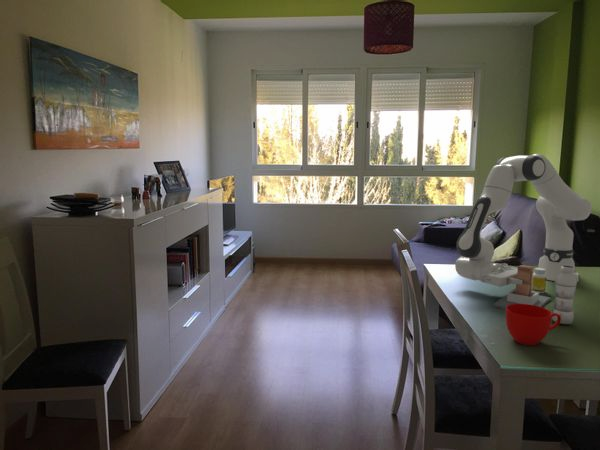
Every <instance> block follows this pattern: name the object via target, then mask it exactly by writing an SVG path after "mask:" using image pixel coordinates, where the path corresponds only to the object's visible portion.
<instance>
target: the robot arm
mask: <svg viewBox="0 0 600 450" xmlns="http://www.w3.org/2000/svg"><path fill="white" fill-rule="evenodd" d="M525 181H530V184H531V185H532V187H533V188H534V189H535V191H536V193H537V194H538V195H539V196H538V198H537V199H536V202H535V209H536V211H537V212H538V214H540V216H541V217H542V219H543V222H544V228H545V243H544V244H545V246H544V247H543V256H541V257H540V258H539V261H538V267H537V268H543V269H545V273H544V274H545V275H546V281H552V282H555V279H556V277H557V276H558V275H559V274H560V273H561V271H560V270H561V266H562V265H567V266H572V267H574V268H575V267H576V266H575V264H576V263H575V261H574V258H573V257H574V250H573V243H574V236H575V235H574V232H573V230H572V229H571V228H570V226H568V224H567V220H568V221H585V220H586V219H588V218H589V216H590V214H591V213H592V210H593V209H592V203H591V202H590V201H589V199H587V198H585V197H583V196H581V195H580V194H578V193H577V192H575V190H574V189H572V188H571V187H570V186H568V184H566V182H565V181H564V179H562V178H561V176H560V174H559V173H558V170H556V168H555V167H554V165H553V164H552V163H551V161H550V160H549V159H548V158H547V157H546V156H545V155H544V154H541V153H534V154H530V155H527V154H526V155H525V154H523V155H522V154H521V155H520V154H519V155H512V156H503V157H501V158H499V159H498V160H497V161H496V162H495V165H493V167H492V168H491V169H490V172H489V173H488V176H487V177H486V180H485V183H484V186H483V189H482V192H481V194H480V197H479V198H478V199H477V201H476V202H475V204H474V206H473V208H472V210H471V213H470V215H469V217H468V220H467V222H466V225H465V227H464V229H463V231H462V233H461V234H460V235H459V236H458V238H457V241H456V250H457V253H458V254H459V255H460V257H458V258H457V259H456V261H455V272H456V273H457V275H459V276H460V277H462V278H464V279H467V280H472V281H479V282H482V283H484V284H488V285H492V286H497V287H505V286H508V285H516V284H519V285H522V284H524V280H522V279H517V271H518V266H517V267H516V266H512V265H508V263H502V262H501V263H497V262H492V259H493V258H494V253H495V247H494V244H493V243H492V241H490V240H487V239H486V238H484V237H481V233H482V230H483V228H484V225H485V223H486V221H487V218H488V216H489V215H490V214H492V213H493V212H499V211H502V210H503V209H505V208H506V207H507V206H508V204H509V201H510V199H511V196H512V191H513V187H514V184H515V182H525ZM573 271H574V272H573V273H572V274H573V276H574V277H575V279H576V282H577V283H579V278H580V277H579V272H577V270H576V269H574V270H573ZM533 273H535V271H533Z"/></svg>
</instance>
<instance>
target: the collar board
mask: <svg viewBox="0 0 600 450" xmlns="http://www.w3.org/2000/svg"><path fill="white" fill-rule="evenodd" d="M550 301H551V297H549V296H547V295H546V296H545V295H540V293H537V292H532V291H531V297H528V296H523V295H518V294H516V288H513V289H512V290H510V291H509V292H507V294H506V295H505V296H503V297H502V298H500V299H499V300H497V301H496V302H494V303H493V307H494V308H500V309H503V310H506V307H507V306H508V305H511V304H528V305H535V306H539V307H542V308H543V307H544V306H546V304H547V303H548V302H550Z"/></svg>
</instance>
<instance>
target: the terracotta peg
mask: <svg viewBox="0 0 600 450" xmlns="http://www.w3.org/2000/svg"><path fill="white" fill-rule="evenodd" d="M517 268H518V271H517V279H522V280H524V284H522V285H519V284H515V285H516V286H515V289H516V294H518V295H523V296H528V297H531V292H532V291H531V288H532V277H533V273H534V266H532V265H531V266H530V265H525V264H524V265H523V264H521V265H518V266H517Z"/></svg>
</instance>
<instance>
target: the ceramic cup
mask: <svg viewBox="0 0 600 450" xmlns="http://www.w3.org/2000/svg"><path fill="white" fill-rule="evenodd" d="M553 316H557V317H558V319H557V321H556V322H554V324H551V323H552V321H553V319H552V317H553ZM505 321H506V322H505V323H506V327H507V330H508V332H509V334H510V336H511V337H512V338H513V339H514V341H515V342H517V343H518V344H521V345H524V346H525V345H527V346H536V345H538V344H539V343H540V342H542V341H543V340H544V339H545V338H546V337H547V335H548V333H549V331H551V330H554V329H555V328H557V327H558V326H559V325H560V321H561V317H560V315H559V314H557V313H552V311H551V310H550V309H548V308H545V307H543V306H542V307H539V306H535V305H528V304H511V305H508V306H507V307H506V309H505Z"/></svg>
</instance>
